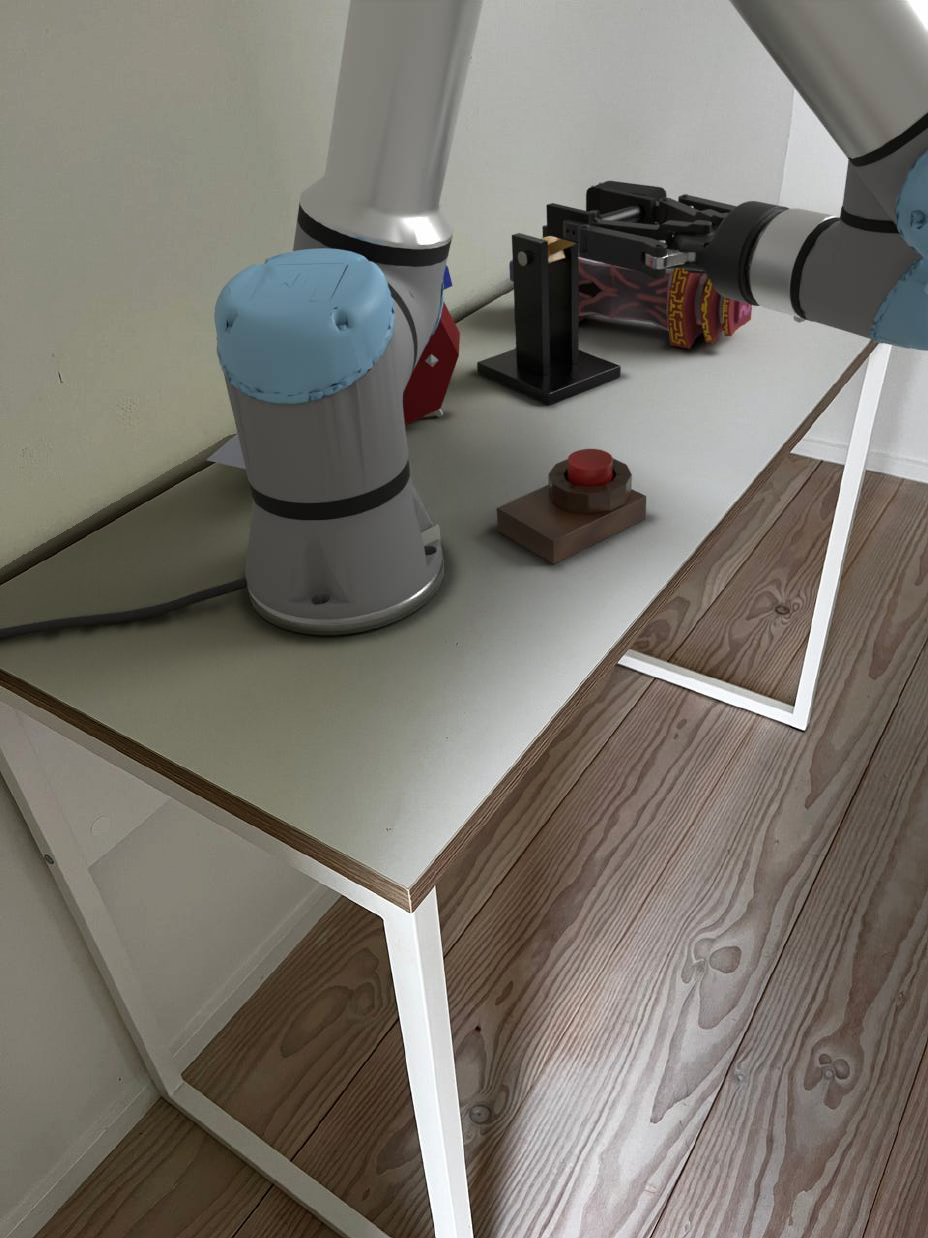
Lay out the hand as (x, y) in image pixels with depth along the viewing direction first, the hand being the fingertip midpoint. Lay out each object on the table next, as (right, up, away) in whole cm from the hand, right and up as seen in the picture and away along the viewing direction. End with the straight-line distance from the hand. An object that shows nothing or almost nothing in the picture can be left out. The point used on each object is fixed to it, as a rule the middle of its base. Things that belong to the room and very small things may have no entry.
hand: (577, 211), depth 93 cm
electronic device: (+11, +10, +42) cm, 45 cm away
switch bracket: (-2, -12, +14) cm, 18 cm away
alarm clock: (-18, -19, +6) cm, 27 cm away
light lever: (+1, -3, +2) cm, 4 cm away
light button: (0, -27, -13) cm, 30 cm away
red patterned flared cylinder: (+8, -4, +24) cm, 26 cm away
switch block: (-2, -31, -12) cm, 33 cm away
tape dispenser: (-26, -25, 0) cm, 36 cm away
